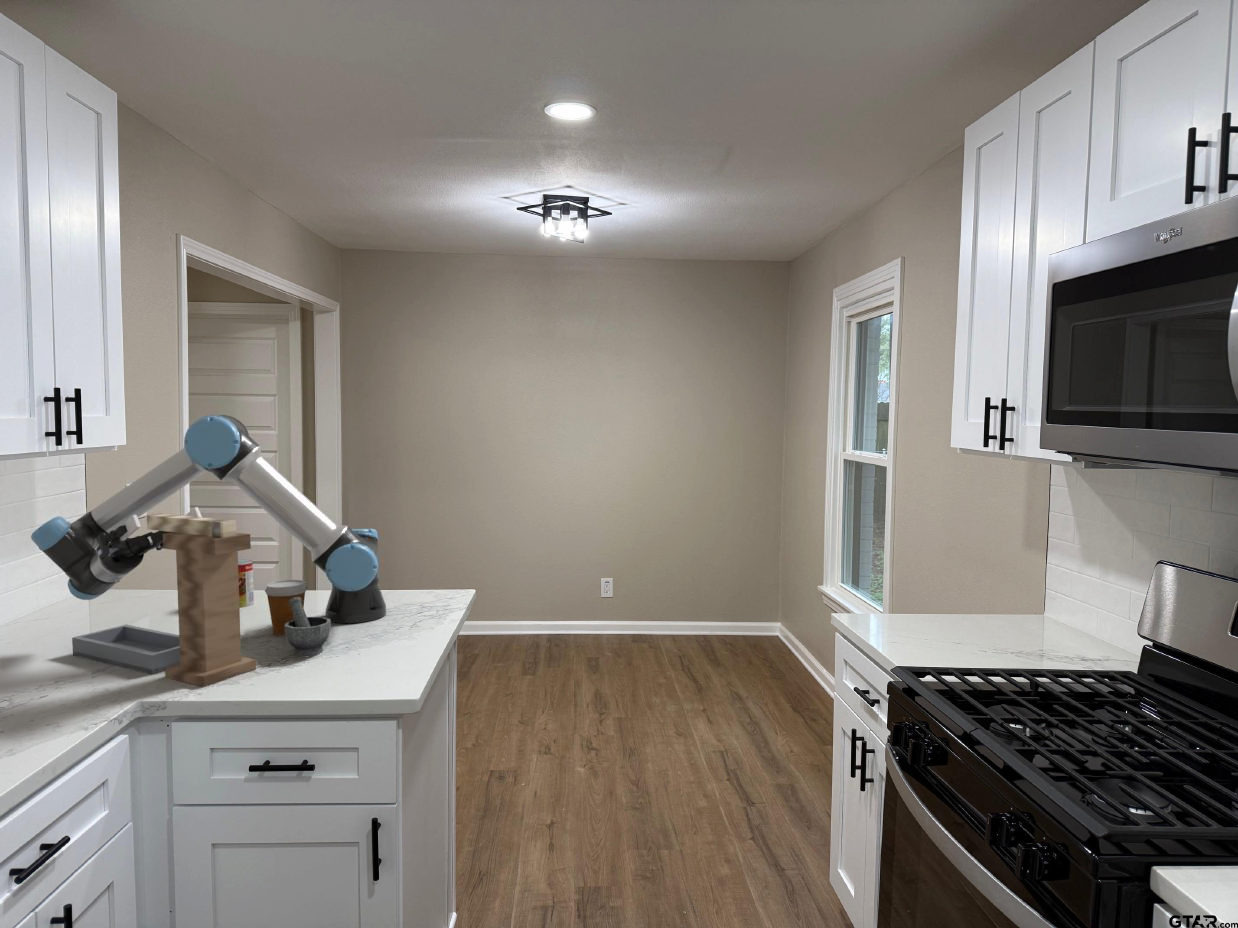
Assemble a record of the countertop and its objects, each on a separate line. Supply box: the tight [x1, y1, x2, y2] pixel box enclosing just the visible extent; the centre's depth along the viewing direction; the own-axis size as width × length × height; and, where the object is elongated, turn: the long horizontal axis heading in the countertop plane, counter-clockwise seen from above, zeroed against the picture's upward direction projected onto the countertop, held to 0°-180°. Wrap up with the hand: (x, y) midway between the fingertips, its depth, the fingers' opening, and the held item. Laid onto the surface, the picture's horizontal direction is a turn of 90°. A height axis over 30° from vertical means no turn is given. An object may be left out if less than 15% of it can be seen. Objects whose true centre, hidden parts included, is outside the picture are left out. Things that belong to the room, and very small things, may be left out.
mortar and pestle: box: [284, 597, 332, 657], centre depth 181 cm, size 11×9×12 cm
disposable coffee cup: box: [264, 579, 308, 636], centre depth 197 cm, size 10×10×12 cm
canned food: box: [238, 558, 255, 609], centre depth 224 cm, size 8×8×12 cm
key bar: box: [146, 513, 237, 538], centre depth 167 cm, size 24×4×3 cm, turn 63°
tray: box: [71, 624, 180, 675], centre depth 177 cm, size 28×12×4 cm, turn 63°
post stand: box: [162, 532, 257, 688], centre depth 166 cm, size 16×12×29 cm
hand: (168, 516), depth 170 cm, fingers open, 13 cm apart
